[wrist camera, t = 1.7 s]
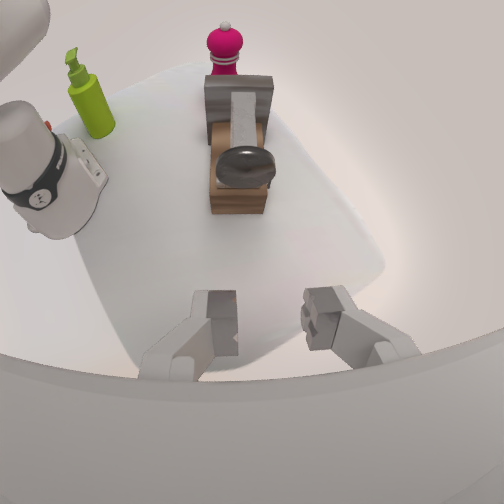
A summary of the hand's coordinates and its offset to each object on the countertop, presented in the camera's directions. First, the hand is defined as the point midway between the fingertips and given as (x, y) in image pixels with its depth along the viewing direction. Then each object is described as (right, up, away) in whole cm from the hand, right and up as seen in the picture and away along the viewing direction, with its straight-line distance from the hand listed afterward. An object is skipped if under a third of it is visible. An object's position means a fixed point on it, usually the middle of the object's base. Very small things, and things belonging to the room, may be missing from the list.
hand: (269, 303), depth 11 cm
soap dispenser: (-32, +28, +38) cm, 57 cm away
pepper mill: (-6, +32, +41) cm, 52 cm away
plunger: (-2, +8, +31) cm, 32 cm away
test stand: (-3, +16, +36) cm, 40 cm away
